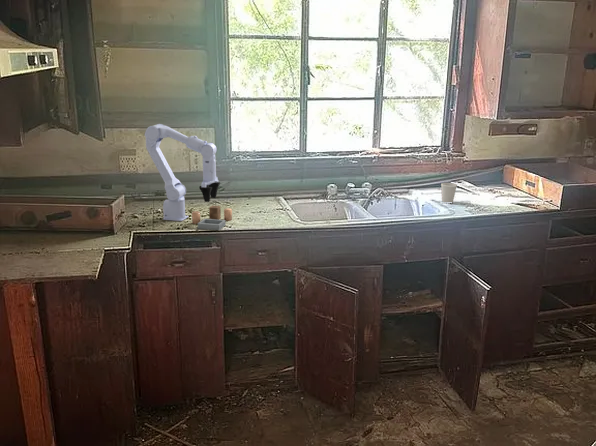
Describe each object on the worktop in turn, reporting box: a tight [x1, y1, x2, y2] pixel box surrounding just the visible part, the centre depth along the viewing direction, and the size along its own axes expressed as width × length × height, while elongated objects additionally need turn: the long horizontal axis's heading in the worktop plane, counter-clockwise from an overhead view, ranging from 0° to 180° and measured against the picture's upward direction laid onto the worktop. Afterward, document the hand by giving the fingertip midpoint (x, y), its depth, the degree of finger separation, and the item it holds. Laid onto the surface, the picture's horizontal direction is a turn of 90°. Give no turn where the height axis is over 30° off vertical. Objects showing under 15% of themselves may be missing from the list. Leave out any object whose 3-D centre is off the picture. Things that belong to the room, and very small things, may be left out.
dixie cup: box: [440, 182, 458, 203], centre depth 302 cm, size 8×8×10 cm
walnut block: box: [208, 205, 222, 220], centre depth 264 cm, size 4×4×6 cm
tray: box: [197, 218, 226, 231], centre depth 253 cm, size 10×8×2 cm
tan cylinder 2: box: [223, 207, 233, 222], centre depth 264 cm, size 4×4×5 cm
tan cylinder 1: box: [191, 210, 201, 225], centre depth 258 cm, size 4×4×5 cm
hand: (210, 199), depth 260 cm, fingers open, 7 cm apart
